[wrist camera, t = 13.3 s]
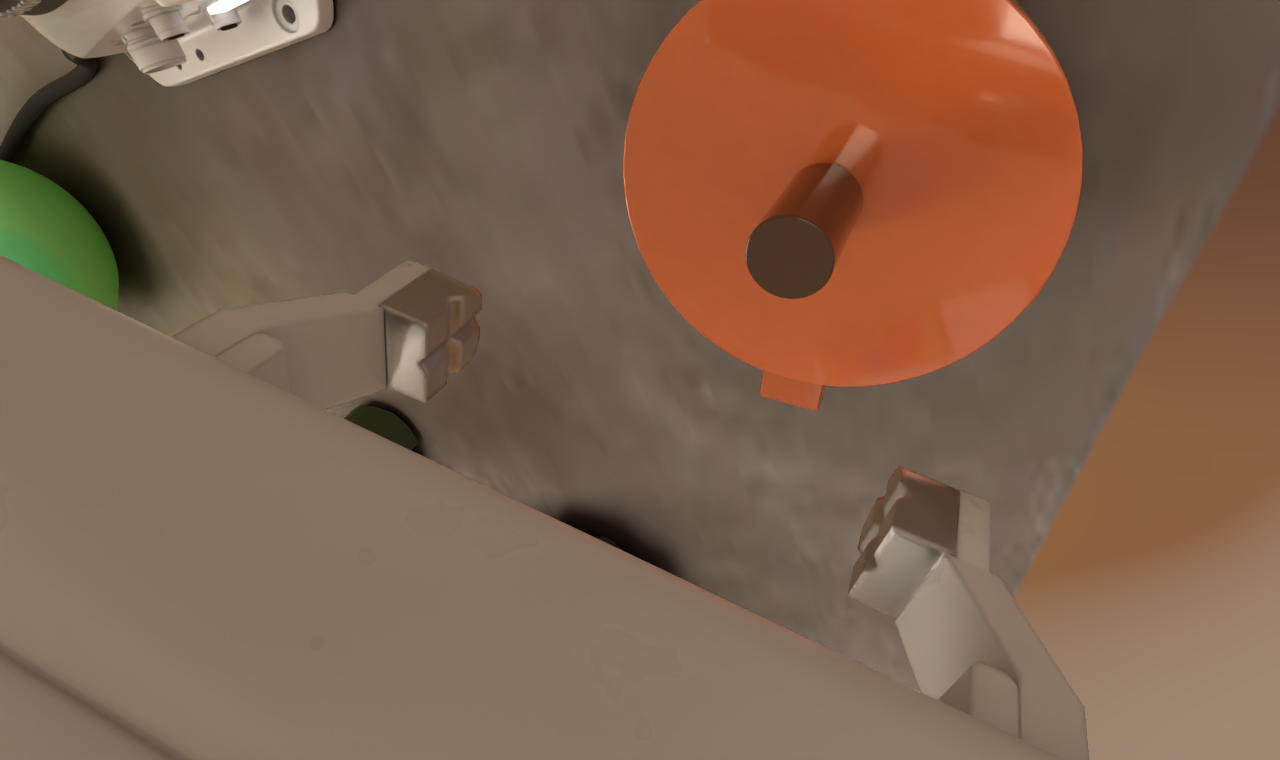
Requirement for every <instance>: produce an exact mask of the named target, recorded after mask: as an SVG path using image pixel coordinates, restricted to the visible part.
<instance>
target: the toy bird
mask: <svg viewBox="0 0 1280 760" xmlns="http://www.w3.org/2000/svg"><path fill="white" fill-rule="evenodd" d="M0 256H3V257H5V258H8V259H10V260H12V261H14V262H16V263H18V264H20V265H22V266H24V267H26V268H28V269H30V270H32V271H34V272H36V273H38V274H40V275H42V276H44V277H46V278H49V279H51V280H53V281H55V282H57V283H59V284H61V285H63V286H65V287H68V288H70V289H72V290H74V291H76V292H78V293H80V294H82V295H84V296H86V297H89V298H91V299H93V300H95V301H97V302H99V303H101V304H103V305H105V306H108V307H110V308H112V309H114V310H115V309H116V305H117V301H118V294H119V277H118V270H117V265H116V261H115V257H114V254H113V252H112V249H111V247H110V244H109V242H108V240H107V238H106V236H105V235H104V233H103V231H102V230H101V228H100V227H99V225H98V224H97V222H96V221H95V220H94V218H93V217H92V216H91V215H90V213H89V212H88V211H87V210H86V209H85V208H84V207H83V206H82V205H81V204H80V203H79V202H78V201H77V200H76V199H75V198H74V197H73V196H72V195H70V194H69V193H68V192H67V191H66V190H64V189H63V188H62V187H60V186H59V185H57V184H56V183H54V182H53V181H51V180H49V179H48V178H46V177H44V176H42V175H40V174H38V173H36V172H34V171H32V170H30V169H27V168H25V167H22V166H20V165H17V164H14V163H11V162H7V161H3V160H0Z"/></svg>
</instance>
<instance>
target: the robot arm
mask: <svg viewBox="0 0 1280 760" xmlns="http://www.w3.org/2000/svg"><path fill="white" fill-rule="evenodd" d="M293 11H294V13H295V15H294V13H293ZM16 15H20V16H21V17H23V18H24V19H25V20H26V21H27V22H28V23H30V24H31V25H32V26H33V27H34V28H35V29H36V30H37V31H39V32H40V33H41V34H42V35H43V36H45V37H46V38H47V39H48V40H50V41H51V42H52V43H53V44H55V45H56V46H58V47H59V48H61V50H62V52H63V54H64V55H65V57H66V58H67V59H69V60H70V61H72V62H73V63H75V64H77V66H76V67H75V68H74V69H73V70H72V71H71V72H69V73H68V74H66V75H64V76H63V77H61V78H59V79H57V80H55V81H53V82H51V83H50V84H48V85H46V86H44V87H43V88H41V89H40V90H38V91H37V92H36V93H35V94H33V95H32V96H31V97H30V98H29V99H28V101H27V102H26V103H25V104H24V106H23V107H22V108H21V110H20V111H19V112H18V114H17V115H16V117H15V119H14V120H13V122H12V124H11V126H10V128H9V130H8V131H7V134H6V136H5V138H4V140H3V142H2V144H1V146H0V160H3V161H7V162H11V163H12V161H13V159H14V157H15V155H16V153H17V151H18V149H19V147H20V145H21V143H22V141H23V140H24V138H25V136H26V134H27V132H28V131H29V129H30V128H31V126H32V125H33V123H34V122H35V120H36V119H37V118H38V117H39V115H40V114H41V113H42V112H43V111H44V110H45V109H46V108H47V107H48V106H49V105H50V104H51V103H53V102H54V101H55V100H57V99H59V98H60V97H62V96H64V95H66V94H68V93H70V92H72V91H73V90H75V89H77V88H79V87H81V86H83V85H84V84H86V83H87V82H89V81H90V80H91V79H92V78H93V77H94V75H95V73H96V70H97V66H98V64H97V62H96V60H95V58H96V57H102V56H108V55H114V54H119V53H125V54H126V55H127V56H128V57H129V58H130V59H131V60H132V61H133V62H134V63H135V64H136V65H137V67H138V68H139V70H140V71H142V72H143V74H148V75H149V76H150V77H151V78H153V79H154V80H156V81H157V82H158V83H160V84H161V85H163V86H166V87H172V86H179V85H185V84H188V83H191V82H194V81H197V80H199V79H202V78H205V77H207V76H210V75H213V74H215V73H218V72H221V71H223V70H226V69H229V68H231V67H234V66H237V65H239V64H242V63H245V62H247V61H250V60H253V59H255V58H258V57H261V56H263V55H266V54H269V53H271V52H274V51H277V50H279V49H282V48H285V47H287V46H290V45H293V44H295V43H298V42H301V41H303V40H306V39H309V38H311V37H314V36H317V35H319V34H322V33H325V32H326V31H328V30H329V29H330V27H331V26H332V23H333V18H334V8H333V0H0V17H8V16H16ZM481 309H482V294H481V293H480V292H479V290H478V289H476V288H474V287H471V286H469V285H467V284H465V283H462V282H460V281H458V280H456V279H453V278H451V277H449V276H447V275H444V274H442V273H440V272H438V271H435V270H432V269H430V268H428V267H426V266H423V265H421V264H419V263H416V262H414V261H405V262H404V263H402V264H400V265H399V266H397V267H396V268H394V269H393V270H391V271H390V272H388V273H387V274H385V275H384V276H382V277H380V278H379V279H377V280H376V281H374V282H373V283H371V284H370V285H368V286H367V287H365V288H364V289H362V290H360V291H359V292H357V293H356V294H354V295H352V294H349V293H347V292H346V293H338V294H331V295H324V296H317V297H309V298H302V299H295V300H288V301H280V302H273V303H266V304H259V305H252V306H244V307H237V308H230V309H223V310H218V311H217V312H215V313H213V314H211V315H209V316H208V317H206V318H204V319H202V320H201V321H199V322H197V323H195V324H193V325H192V326H190V327H188V328H186V329H185V330H183V331H181V332H179V333H177V334H176V335H174V336H172V337H171V336H169V335H166V334H164V333H162V332H160V331H158V330H156V329H154V328H152V327H150V326H148V325H145V324H143V323H141V322H139V321H137V320H135V319H133V318H131V317H129V316H126V315H124V314H122V313H120V312H118V311H116V310H114V309H112V308H110V307H108V306H105V305H103V304H101V303H99V302H97V301H95V300H93V299H91V298H89V297H86V296H84V295H82V294H80V293H78V292H76V291H74V290H72V289H70V288H68V287H65V286H63V285H61V284H59V283H57V282H55V281H53V280H51V279H49V278H46V277H44V276H42V275H40V274H38V273H36V272H34V271H32V270H30V269H28V268H26V267H24V266H22V265H20V264H18V263H16V262H14V261H12V260H10V259H8V258H5V257H3V256H0V760H1089V751H1088V741H1087V730H1086V719H1085V710H1084V706H1083V704H1082V703H1081V702H1080V700H1079V698H1078V697H1077V695H1076V694H1075V692H1074V691H1073V689H1072V688H1071V686H1070V685H1069V683H1068V682H1067V680H1066V679H1065V677H1064V675H1063V674H1062V673H1061V671H1060V669H1059V668H1058V666H1057V665H1056V663H1055V662H1054V660H1053V659H1052V657H1051V655H1050V654H1049V653H1048V651H1047V649H1046V648H1045V646H1044V645H1043V643H1042V642H1041V640H1040V639H1039V637H1038V636H1037V634H1036V633H1035V631H1034V629H1033V628H1032V627H1031V625H1030V623H1029V622H1028V620H1027V619H1026V617H1025V616H1024V615H1023V613H1022V611H1021V610H1020V608H1019V607H1018V605H1017V603H1016V602H1015V600H1014V599H1013V597H1012V596H1011V594H1010V593H1009V591H1008V590H1007V588H1006V587H1005V585H1004V584H1003V582H1002V580H1001V579H1000V577H999V576H997V575H995V574H993V573H991V572H990V520H991V505H990V503H989V502H988V500H985V499H983V498H980V497H978V496H975V495H972V494H970V493H967V492H965V491H962V490H960V489H955V488H952V487H950V486H947V485H945V484H943V483H940V482H938V481H935V480H933V479H930V478H928V477H926V476H923V475H921V474H918V473H916V472H913V471H911V470H909V469H906V468H904V467H901V466H899V467H898V468H897V469H896V470H895V471H894V473H893V474H892V476H891V477H890V479H889V481H888V484H887V489H886V494H885V496H883V497H880V498H878V499H877V500H876V502H875V504H874V505H873V507H872V509H871V511H870V513H869V515H868V517H867V519H866V522H865V524H864V526H863V529H862V532H861V536H860V540H859V544H858V549H859V551H860V553H861V556H860V557H859V559H858V560H857V562H856V564H855V565H854V567H853V572H852V577H851V582H850V587H849V591H848V597H850V598H852V599H854V600H856V601H858V602H860V603H862V604H864V605H866V606H869V607H871V608H873V609H875V610H877V611H879V612H881V613H883V614H885V615H887V616H889V617H891V618H893V619H895V620H896V621H895V624H896V626H897V629H898V632H899V634H900V637H901V640H902V642H903V645H904V648H905V650H906V653H907V656H908V658H909V661H910V664H911V666H912V669H913V672H914V674H915V677H916V680H917V682H918V685H919V687H920V690H921V692H920V691H918V690H916V689H914V688H911V687H909V686H907V685H905V684H903V683H901V682H899V681H897V680H895V679H892V678H890V677H888V676H886V675H884V674H882V673H880V672H878V671H876V670H873V669H871V668H869V667H867V666H865V665H863V664H861V663H859V662H857V661H855V660H852V659H850V658H848V657H846V656H844V655H842V654H840V653H838V652H835V651H833V650H831V649H829V648H827V647H825V646H823V645H820V644H818V643H816V642H814V641H812V640H810V639H808V638H806V637H803V636H801V635H799V634H797V633H795V632H793V631H791V630H789V629H786V628H784V627H782V626H780V625H778V624H776V623H774V622H772V621H770V620H767V619H765V618H763V617H761V616H759V615H757V614H755V613H753V612H751V611H749V610H746V609H744V608H742V607H740V606H738V605H736V604H734V603H732V602H730V601H728V600H725V599H723V598H721V597H719V596H717V595H715V594H713V593H711V592H709V591H707V590H704V589H702V588H700V587H698V586H696V585H694V584H692V583H690V582H688V581H685V580H683V579H681V578H679V577H677V576H675V575H673V574H671V573H669V572H667V571H664V570H662V569H660V568H658V567H656V566H654V565H652V564H650V563H648V562H646V561H643V560H641V559H639V558H637V557H635V556H633V555H631V554H629V553H627V552H625V551H622V550H620V549H618V548H616V547H614V546H612V545H610V544H608V543H605V542H603V541H601V540H599V539H597V538H595V537H593V536H591V535H589V534H586V533H584V532H582V531H580V530H578V529H576V528H574V527H572V526H570V525H567V524H565V523H563V522H561V521H559V520H557V519H555V518H553V517H550V516H548V515H546V514H544V513H542V512H540V511H538V510H536V509H534V508H531V507H529V506H527V505H525V504H523V503H521V502H519V501H517V500H514V499H512V498H510V497H508V496H506V495H504V494H502V493H500V492H498V491H495V490H493V489H491V488H489V487H487V486H485V485H483V484H481V483H478V482H476V481H474V480H472V479H470V478H468V477H466V476H464V475H462V474H459V473H457V472H455V471H453V470H451V469H449V468H447V467H445V466H443V465H440V464H438V463H436V462H434V461H432V460H430V459H428V458H426V457H424V456H422V455H419V454H417V453H415V452H413V451H411V450H409V449H407V448H405V447H403V446H400V445H398V444H396V443H394V442H392V441H390V440H388V439H386V438H384V437H381V436H379V435H377V434H375V433H373V432H371V431H369V430H367V429H365V428H362V427H360V426H358V425H356V424H354V423H352V422H350V421H348V420H346V419H344V418H341V417H339V416H337V415H335V414H333V413H331V412H329V411H327V410H325V409H328V408H331V407H334V406H337V405H340V404H343V403H346V402H349V401H352V400H355V399H358V398H361V397H364V396H367V395H370V394H373V393H375V392H378V391H381V390H384V389H386V388H387V387H389V388H391V389H394V390H396V391H398V392H401V393H403V394H405V395H408V396H410V397H413V398H415V399H417V400H420V401H422V402H424V403H426V402H427V401H428V400H429V399H431V398H432V397H433V396H434V395H435V394H436V393H437V392H438V391H439V390H440V389H441V388H443V387H444V386H445V385H446V384H447V374H451V373H455V372H459V371H461V370H462V369H463V368H464V367H465V366H466V365H467V364H468V363H469V362H470V360H471V358H472V356H473V355H474V353H475V351H476V349H477V346H478V342H479V338H480V327H479V325H478V323H477V321H476V319H475V317H474V315H475V314H477V313H478V312H479V311H480V310H481Z"/></svg>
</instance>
